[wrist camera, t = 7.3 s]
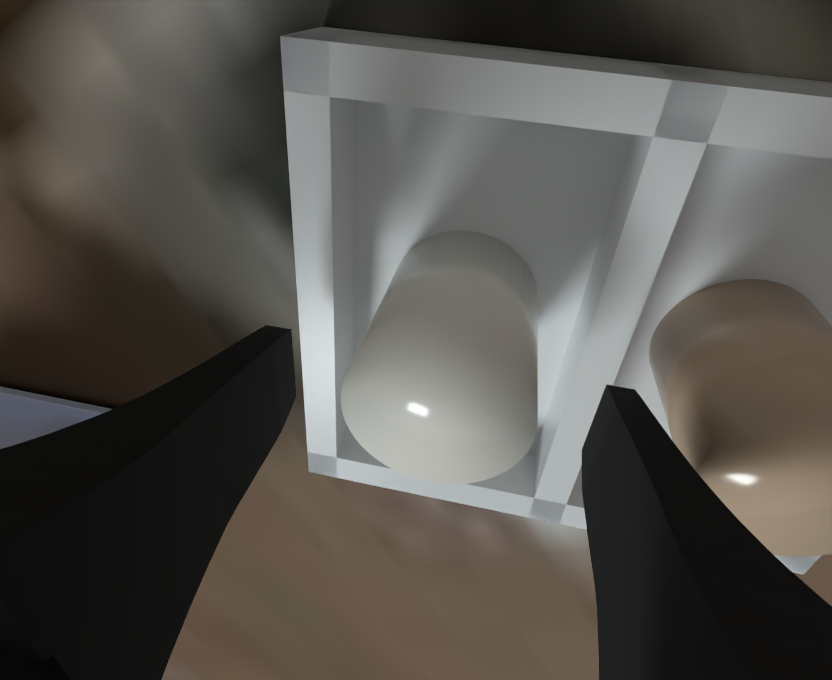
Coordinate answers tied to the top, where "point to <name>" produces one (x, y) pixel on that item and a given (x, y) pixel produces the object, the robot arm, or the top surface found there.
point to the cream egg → (449, 363)
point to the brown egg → (754, 406)
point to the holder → (541, 216)
